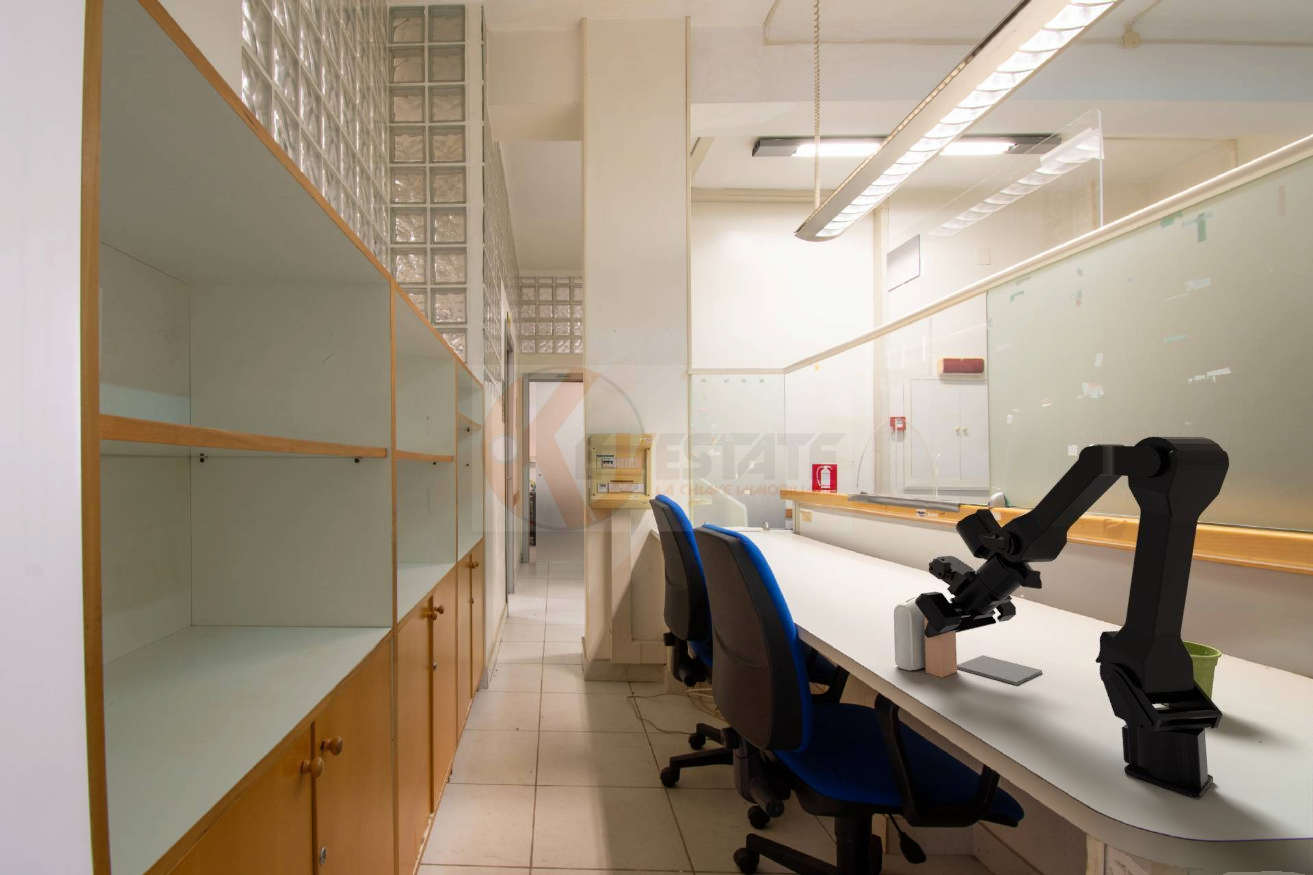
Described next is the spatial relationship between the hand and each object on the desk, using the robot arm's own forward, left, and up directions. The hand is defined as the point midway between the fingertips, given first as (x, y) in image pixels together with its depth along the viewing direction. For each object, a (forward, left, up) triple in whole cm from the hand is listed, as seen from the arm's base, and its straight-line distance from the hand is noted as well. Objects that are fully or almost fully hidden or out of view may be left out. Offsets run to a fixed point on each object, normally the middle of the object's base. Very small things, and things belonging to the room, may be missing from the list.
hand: (937, 633), depth 100 cm
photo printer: (+4, 0, -7) cm, 8 cm away
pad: (-6, -9, -7) cm, 13 cm away
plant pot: (-29, -16, -7) cm, 34 cm away
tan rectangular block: (0, 0, -7) cm, 7 cm away
